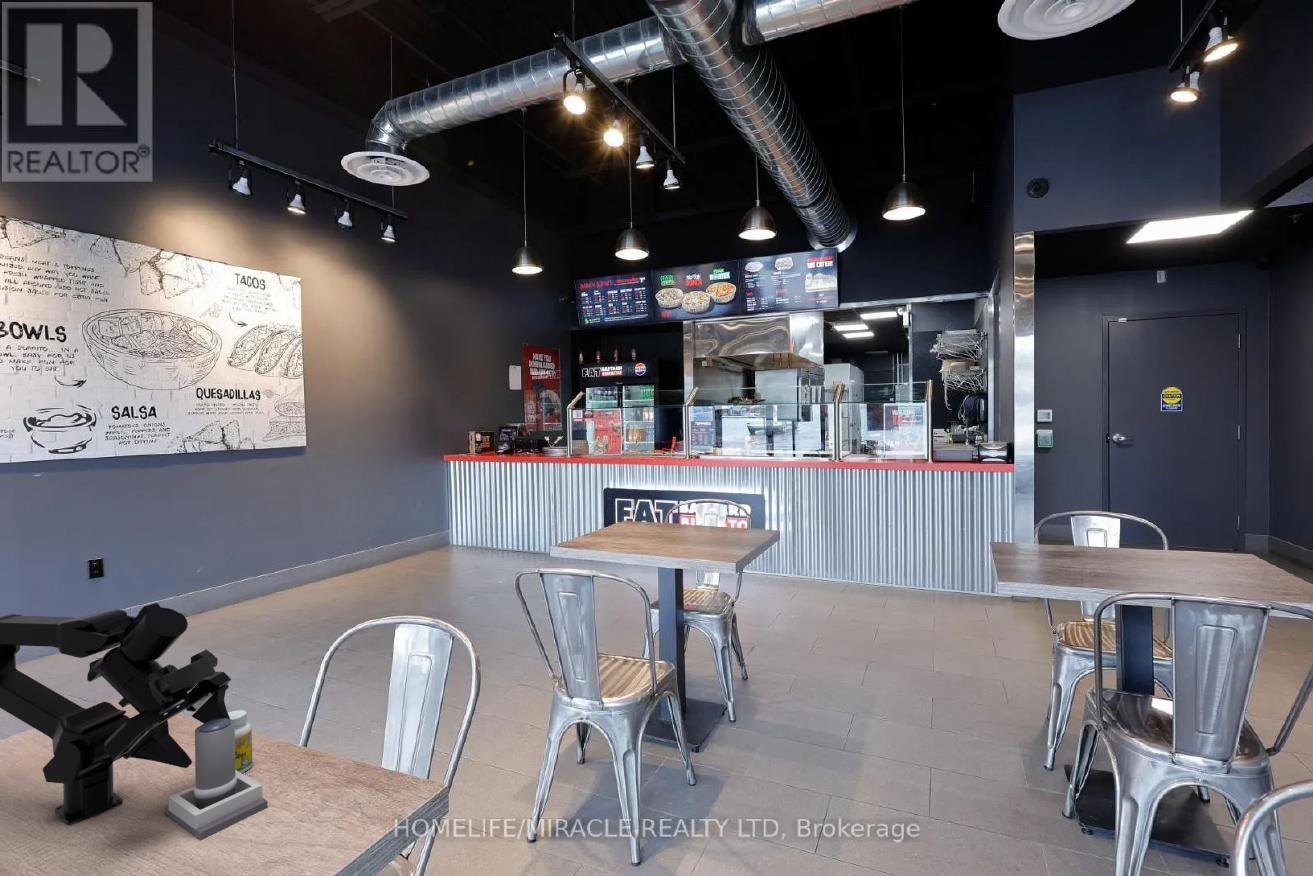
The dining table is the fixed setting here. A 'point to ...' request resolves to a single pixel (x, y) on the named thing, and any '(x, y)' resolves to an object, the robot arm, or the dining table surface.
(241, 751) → the supplement bottle
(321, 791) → the dining table surface
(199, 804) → the lens
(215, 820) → the grey white tray
